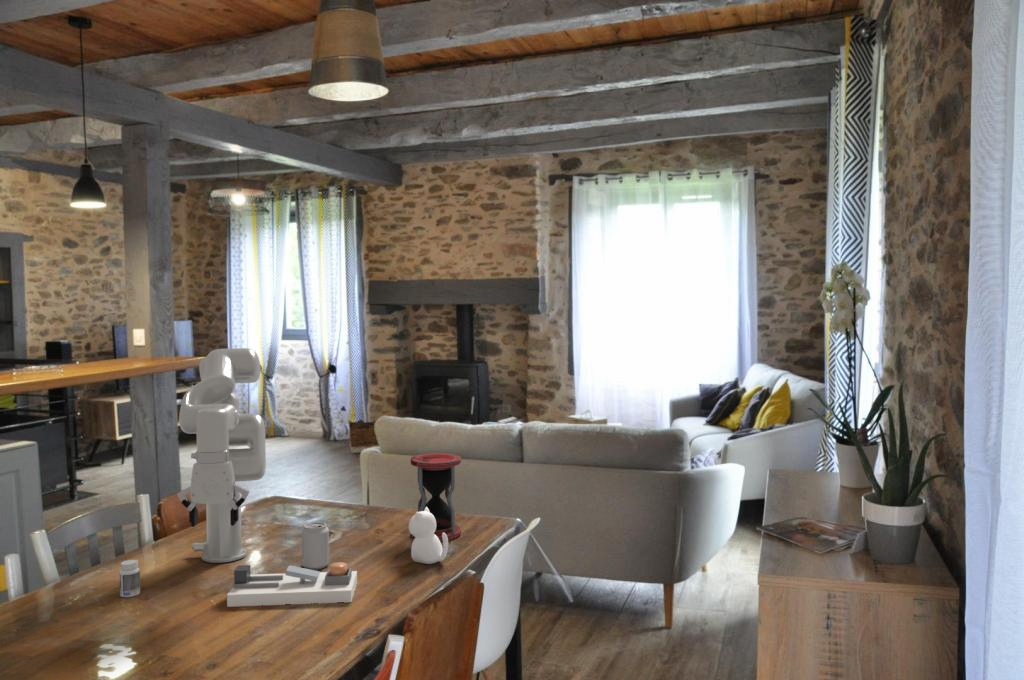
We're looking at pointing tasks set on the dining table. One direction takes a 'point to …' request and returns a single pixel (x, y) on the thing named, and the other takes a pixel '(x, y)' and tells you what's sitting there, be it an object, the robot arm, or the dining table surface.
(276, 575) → the panel
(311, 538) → the can
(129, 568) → the pill bottle
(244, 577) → the slider
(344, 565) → the button
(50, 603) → the dining table surface
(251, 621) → the dining table surface
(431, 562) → the cat figurine
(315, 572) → the slate rocker
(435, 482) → the hourglass
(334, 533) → the jawbone
